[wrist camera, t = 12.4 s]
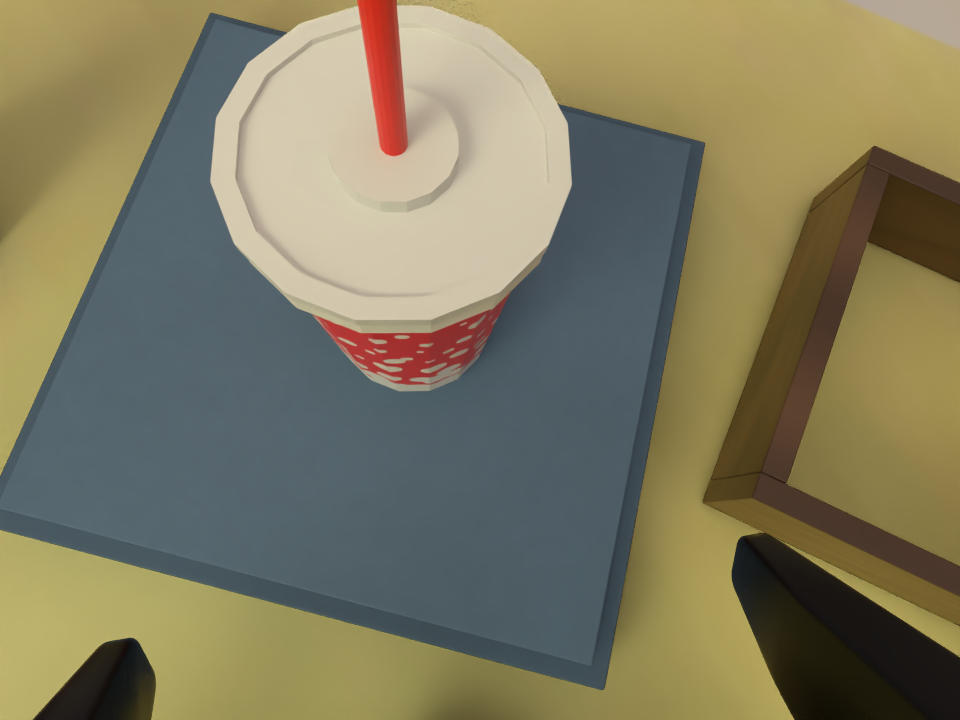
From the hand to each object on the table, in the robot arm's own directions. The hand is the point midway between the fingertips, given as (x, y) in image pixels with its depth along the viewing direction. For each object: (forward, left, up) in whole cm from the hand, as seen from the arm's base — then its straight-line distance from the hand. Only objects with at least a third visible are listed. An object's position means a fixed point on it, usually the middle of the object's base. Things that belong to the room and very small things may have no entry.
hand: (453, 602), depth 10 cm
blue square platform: (+7, +4, -11) cm, 13 cm away
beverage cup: (+7, +3, -9) cm, 11 cm away
